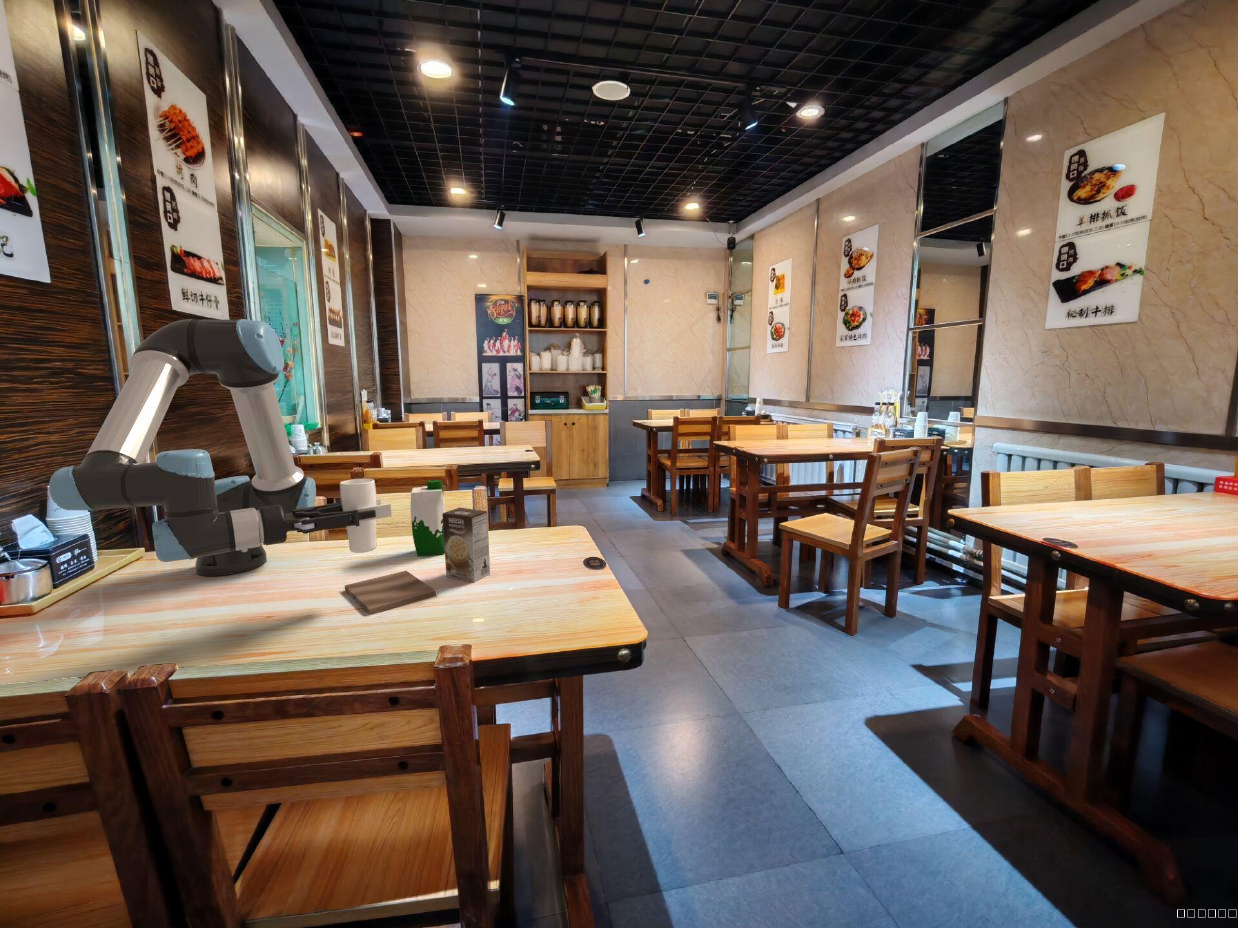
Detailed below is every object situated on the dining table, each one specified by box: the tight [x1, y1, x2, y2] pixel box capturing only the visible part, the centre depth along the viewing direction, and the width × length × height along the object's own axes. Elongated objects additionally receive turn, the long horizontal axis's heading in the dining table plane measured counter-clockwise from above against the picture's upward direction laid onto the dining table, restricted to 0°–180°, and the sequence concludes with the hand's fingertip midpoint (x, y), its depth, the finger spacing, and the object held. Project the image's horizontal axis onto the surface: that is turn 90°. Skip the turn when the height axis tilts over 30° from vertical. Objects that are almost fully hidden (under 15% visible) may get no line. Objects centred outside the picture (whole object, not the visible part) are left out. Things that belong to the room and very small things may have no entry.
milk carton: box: [410, 479, 447, 558], centre depth 149 cm, size 9×9×20 cm
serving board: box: [344, 570, 437, 615], centre depth 121 cm, size 18×14×1 cm
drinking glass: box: [339, 478, 378, 554], centre depth 115 cm, size 7×7×15 cm
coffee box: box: [442, 507, 491, 583], centre depth 130 cm, size 9×6×16 cm
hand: (385, 507), depth 118 cm, fingers closed on drinking glass, 6 cm apart
